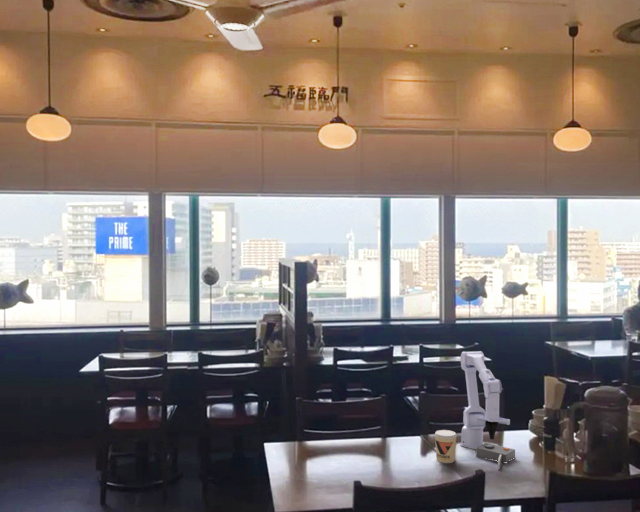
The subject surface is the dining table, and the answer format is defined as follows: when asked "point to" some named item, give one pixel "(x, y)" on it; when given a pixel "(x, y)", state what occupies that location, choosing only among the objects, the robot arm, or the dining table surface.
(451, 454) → the coffee cup
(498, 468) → the side door
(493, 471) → the dining table surface
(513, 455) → the camera case
